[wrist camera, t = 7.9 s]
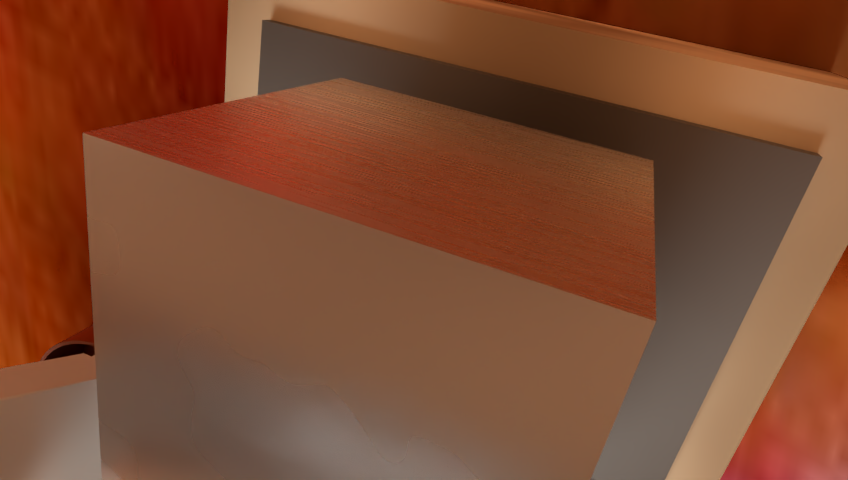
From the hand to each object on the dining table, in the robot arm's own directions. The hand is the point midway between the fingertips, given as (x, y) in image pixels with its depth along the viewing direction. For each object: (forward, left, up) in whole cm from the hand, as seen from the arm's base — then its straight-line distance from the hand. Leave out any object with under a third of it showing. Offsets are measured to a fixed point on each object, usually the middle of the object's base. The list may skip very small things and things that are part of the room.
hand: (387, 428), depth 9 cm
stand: (0, 0, -9) cm, 9 cm away
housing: (0, +1, -2) cm, 2 cm away
